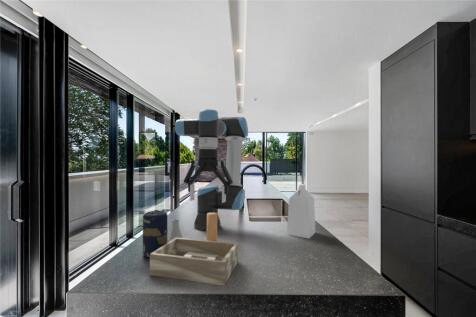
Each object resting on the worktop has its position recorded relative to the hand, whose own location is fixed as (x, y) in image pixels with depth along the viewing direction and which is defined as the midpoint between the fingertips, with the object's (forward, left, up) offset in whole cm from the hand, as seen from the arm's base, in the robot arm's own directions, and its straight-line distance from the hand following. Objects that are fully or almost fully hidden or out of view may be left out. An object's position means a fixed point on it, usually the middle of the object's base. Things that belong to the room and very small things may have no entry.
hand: (207, 201), depth 101 cm
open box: (+12, +1, -22) cm, 25 cm away
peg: (-4, +1, -22) cm, 22 cm away
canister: (+5, -20, -22) cm, 31 cm away
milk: (-41, +38, -22) cm, 60 cm away
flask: (-12, -20, -22) cm, 32 cm away
